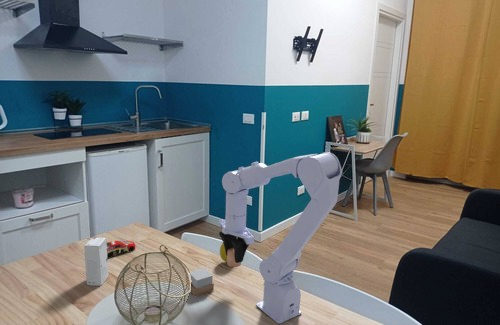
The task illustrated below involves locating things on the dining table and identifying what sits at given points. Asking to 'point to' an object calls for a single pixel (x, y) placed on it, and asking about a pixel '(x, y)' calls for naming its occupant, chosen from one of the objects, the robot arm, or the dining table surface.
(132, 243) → the race car
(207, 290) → the walnut slab
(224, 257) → the lemon
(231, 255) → the copper rounded cylinder
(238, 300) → the dining table surface
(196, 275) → the grey slab
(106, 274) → the skincare box
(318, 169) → the robot arm
